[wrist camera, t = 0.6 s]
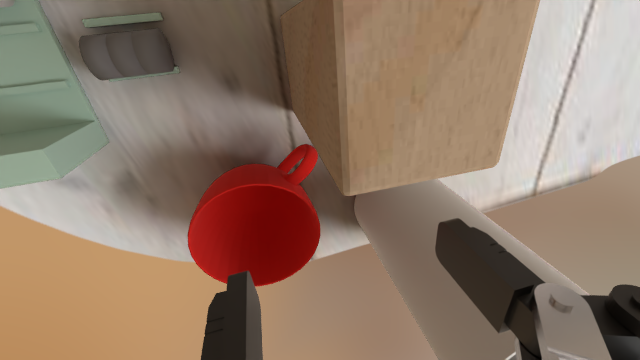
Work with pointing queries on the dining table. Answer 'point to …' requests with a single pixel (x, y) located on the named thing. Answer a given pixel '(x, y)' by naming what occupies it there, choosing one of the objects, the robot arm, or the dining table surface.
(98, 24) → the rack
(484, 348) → the cylinder vase
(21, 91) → the roller track
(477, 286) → the robot arm
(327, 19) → the wooden block
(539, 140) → the dining table surface
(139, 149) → the dining table surface
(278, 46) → the dining table surface
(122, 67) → the roller
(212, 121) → the dining table surface
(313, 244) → the ceramic cup
